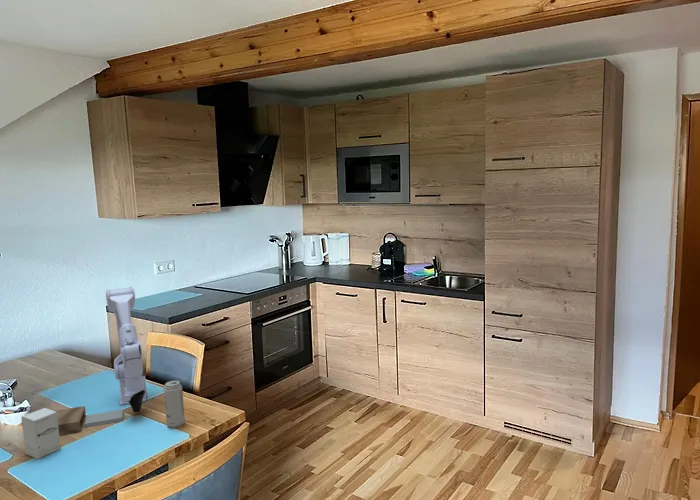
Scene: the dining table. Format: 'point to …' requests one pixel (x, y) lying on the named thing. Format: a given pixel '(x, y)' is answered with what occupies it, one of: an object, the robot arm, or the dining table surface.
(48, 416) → the supplement box
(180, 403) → the energy drink can
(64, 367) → the dining table surface
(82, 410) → the walnut shelf
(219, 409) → the dining table surface
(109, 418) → the slate tile
